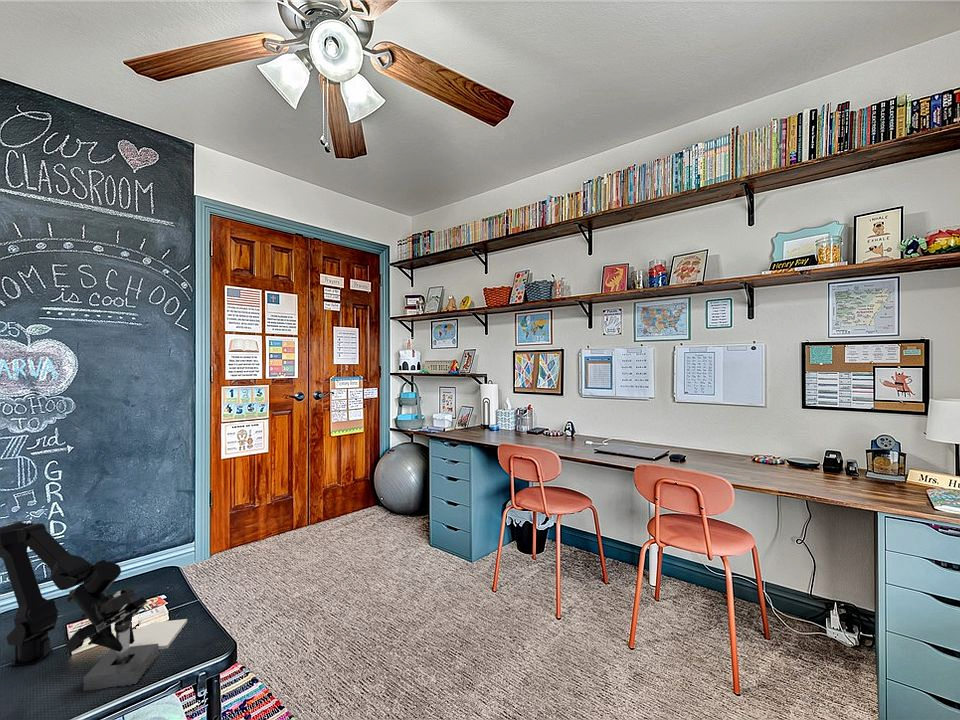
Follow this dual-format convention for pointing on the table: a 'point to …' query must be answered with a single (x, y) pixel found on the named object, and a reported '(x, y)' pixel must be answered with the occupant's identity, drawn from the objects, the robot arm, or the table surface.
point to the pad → (158, 633)
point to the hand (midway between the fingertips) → (127, 646)
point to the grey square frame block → (121, 668)
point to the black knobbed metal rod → (123, 640)
